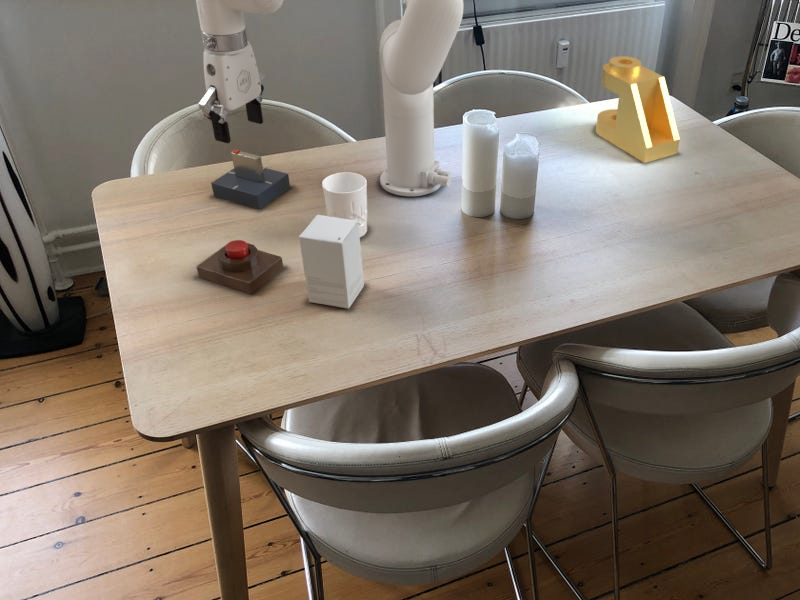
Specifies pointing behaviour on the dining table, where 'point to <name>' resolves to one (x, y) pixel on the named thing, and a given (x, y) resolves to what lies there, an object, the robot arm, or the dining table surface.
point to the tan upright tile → (247, 166)
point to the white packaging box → (332, 261)
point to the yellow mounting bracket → (638, 111)
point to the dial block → (251, 188)
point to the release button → (237, 249)
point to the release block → (240, 269)
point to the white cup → (347, 198)
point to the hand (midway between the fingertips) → (239, 131)
